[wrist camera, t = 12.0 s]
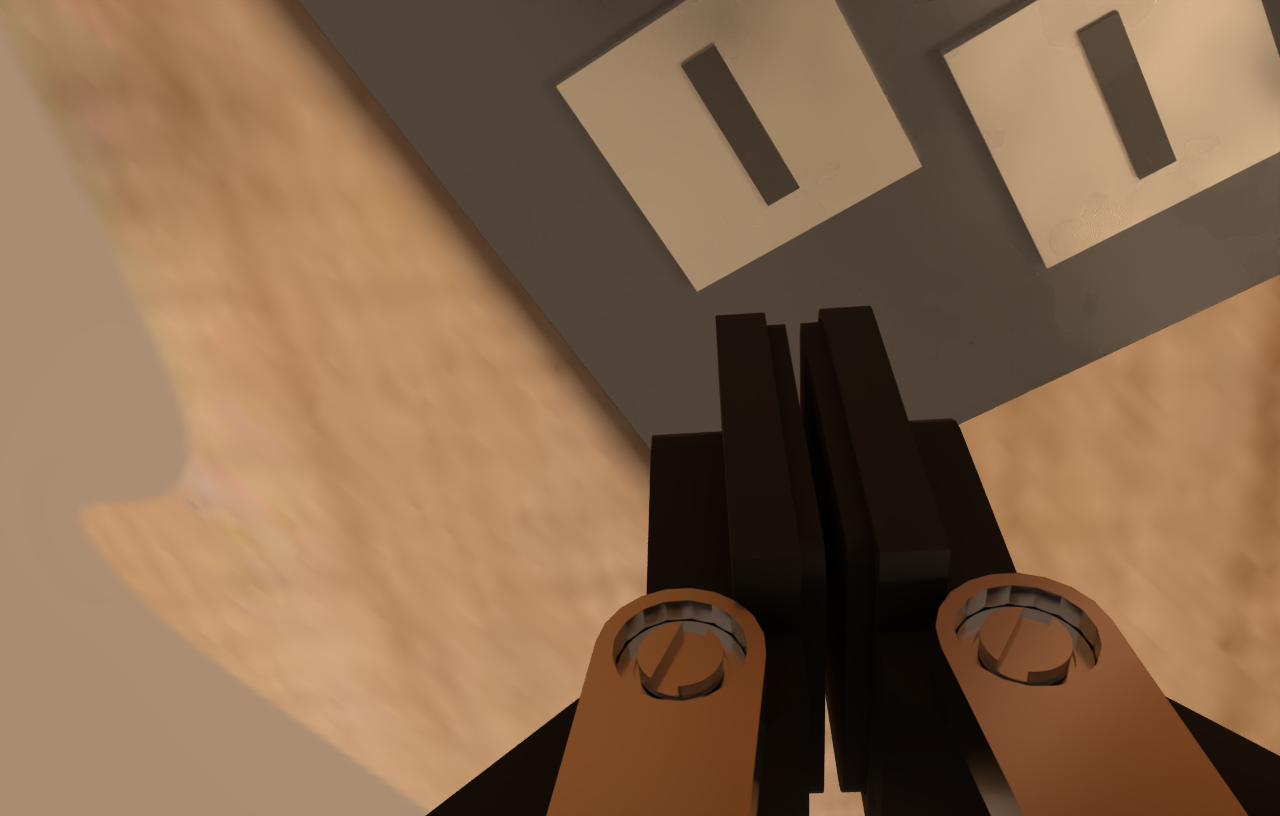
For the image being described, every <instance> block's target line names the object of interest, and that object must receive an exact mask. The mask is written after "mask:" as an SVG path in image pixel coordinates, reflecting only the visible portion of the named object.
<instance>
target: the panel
mask: <svg viewBox="0 0 1280 816" xmlns="http://www.w3.org/2000/svg"><path fill="white" fill-rule="evenodd" d="M298 1H299V3H300V4H301V5H302V6H303V8H304V9H305V10H306V12H307V13H308V14H309V15H310V17H311V18H312V19H313V20H314V22H315V23H316V24H317V26H318V27H319V28H320V29H321V31H322V32H323V33H324V34H325V36H326V37H327V38H328V40H329V41H330V42H331V43H332V45H333V46H334V47H335V48H336V50H337V51H338V52H339V54H340V55H341V56H342V57H343V59H344V60H345V61H346V62H347V64H348V65H349V66H350V68H351V69H352V70H353V71H354V73H355V74H356V75H357V77H358V78H359V79H360V80H361V82H362V83H363V84H364V85H365V87H366V88H367V89H368V91H369V92H370V93H371V94H372V96H373V97H374V98H375V99H376V101H377V102H378V103H379V105H380V106H381V107H382V108H383V110H384V111H385V112H386V113H387V115H388V116H389V117H390V119H391V120H392V121H393V122H394V124H395V125H396V126H397V128H398V129H399V130H400V131H401V133H402V134H403V135H404V136H405V138H406V139H407V140H408V142H409V143H410V144H411V145H412V147H413V148H414V149H415V150H416V152H417V153H418V154H419V156H420V157H421V158H422V159H423V161H424V162H425V163H426V164H427V166H428V167H429V168H430V170H431V171H432V172H433V173H434V175H435V176H436V177H437V179H438V180H439V181H440V182H441V184H442V185H443V186H444V187H445V189H446V190H447V191H448V193H449V194H450V195H451V196H452V198H453V199H454V200H455V201H456V203H457V204H458V205H459V207H460V208H461V209H462V210H463V212H464V213H465V214H466V215H467V217H468V218H469V219H470V221H471V222H472V223H473V224H474V226H475V227H476V228H477V230H478V231H479V232H480V233H481V235H482V236H483V237H484V238H485V240H486V241H487V242H488V244H489V245H490V246H491V247H492V249H493V250H494V251H495V252H496V254H497V255H498V256H499V258H500V259H501V260H502V261H503V263H504V264H505V265H506V266H507V268H508V269H509V270H510V272H511V273H512V274H513V275H514V277H515V278H516V279H517V281H518V282H519V283H520V284H521V286H522V287H523V288H524V289H525V291H526V292H527V293H528V295H529V296H530V297H531V298H532V300H533V301H534V302H535V303H536V305H537V306H538V307H539V309H540V310H541V311H542V312H543V314H544V315H545V316H546V317H547V319H548V320H549V321H550V323H551V324H552V325H553V326H554V328H555V329H556V330H557V332H558V333H559V334H560V335H561V337H562V338H563V339H564V340H565V342H566V343H567V344H568V346H569V347H570V348H571V349H572V351H573V352H574V353H575V354H576V356H577V357H578V358H579V360H580V361H581V362H582V363H583V365H584V366H585V367H586V368H587V370H588V371H589V372H590V374H591V375H592V376H593V377H594V379H595V380H596V381H597V382H598V384H599V385H600V386H601V388H602V389H603V390H604V391H605V393H606V394H607V395H608V397H609V398H610V399H611V400H612V402H613V403H614V404H615V405H616V407H617V408H618V409H619V411H620V412H621V413H622V414H623V416H624V417H625V418H626V419H627V421H628V422H629V423H630V425H631V426H632V427H633V428H634V430H635V431H636V432H637V433H638V435H639V436H640V437H641V439H642V440H643V441H644V442H645V444H646V445H647V446H648V448H649V449H650V450H651V440H652V435H663V434H681V433H699V432H716V431H722V430H721V412H720V394H719V376H718V357H717V339H716V321H715V315H730V314H745V313H761V312H764V313H765V317H766V323H767V325H778V324H785V326H786V331H787V336H788V342H789V347H790V353H791V359H792V364H793V370H794V376H795V381H796V387H797V392H798V398H799V404H800V324H801V323H809V322H818V312H819V309H823V308H839V307H855V306H871V307H872V309H873V312H874V315H875V318H876V321H877V324H878V328H879V331H880V334H881V337H882V340H883V343H884V346H885V349H886V352H887V355H888V358H889V361H890V364H891V368H892V371H893V374H894V377H895V380H896V383H897V386H898V389H899V392H900V395H901V398H902V401H903V404H904V408H905V411H906V414H907V417H908V420H909V421H911V420H929V419H946V418H952V419H954V420H956V422H957V424H958V425H959V424H961V423H963V422H965V421H967V420H969V419H972V418H974V417H976V416H978V415H980V414H982V413H984V412H986V411H989V410H991V409H993V408H995V407H997V406H999V405H1001V404H1004V403H1006V402H1008V401H1010V400H1012V399H1014V398H1016V397H1019V396H1021V395H1023V394H1025V393H1027V392H1029V391H1031V390H1033V389H1036V388H1038V387H1040V386H1042V385H1044V384H1046V383H1048V382H1051V381H1053V380H1055V379H1057V378H1059V377H1061V376H1063V375H1066V374H1068V373H1070V372H1072V371H1074V370H1076V369H1078V368H1081V367H1083V366H1085V365H1087V364H1089V363H1091V362H1093V361H1095V360H1098V359H1100V358H1102V357H1104V356H1106V355H1108V354H1110V353H1113V352H1115V351H1117V350H1119V349H1121V348H1123V347H1125V346H1128V345H1130V344H1132V343H1134V342H1136V341H1138V340H1140V339H1142V338H1145V337H1147V336H1149V335H1151V334H1153V333H1155V332H1157V331H1160V330H1162V329H1164V328H1166V327H1168V326H1170V325H1172V324H1175V323H1177V322H1179V321H1181V320H1183V319H1185V318H1187V317H1189V316H1192V315H1194V314H1196V313H1198V312H1200V311H1202V310H1204V309H1207V308H1209V307H1211V306H1213V305H1215V304H1217V303H1219V302H1222V301H1224V300H1226V299H1228V298H1230V297H1232V296H1234V295H1237V294H1239V293H1241V292H1243V291H1245V290H1247V289H1249V288H1251V287H1254V286H1256V285H1258V284H1260V283H1262V282H1264V281H1266V280H1269V279H1271V278H1273V277H1275V276H1277V275H1279V274H1280V0H298Z"/></svg>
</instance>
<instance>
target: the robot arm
mask: <svg viewBox="0 0 1280 816" xmlns="http://www.w3.org/2000/svg"><path fill="white" fill-rule="evenodd" d="M715 321H716V339H717V357H718V376H719V394H720V412H721V430H722V431H716V432H699V433H681V434H663V435H652V440H651V466H650V499H649V532H648V566H647V595H644V596H641V597H639V598H638V599H636V600H634V601H632V602H630V603H629V604H627V605H625V606H623V607H621V608H620V609H619V610H618V611H617V612H616V613H615V614H614V615H613V616H612V617H611V618H610V619H609V620H608V621H607V622H606V623H605V624H604V626H603V628H602V630H601V632H600V634H599V636H598V638H597V640H596V642H595V646H594V650H593V653H592V657H591V660H590V664H589V667H588V671H587V674H586V678H585V681H584V685H583V688H582V692H581V695H580V698H578V699H577V700H576V701H575V702H573V703H572V704H571V705H569V706H568V707H567V708H565V709H564V710H563V711H561V712H560V713H559V714H558V715H556V716H555V717H554V718H552V719H551V720H550V721H548V722H547V723H546V724H545V725H543V726H542V727H541V728H539V729H538V730H537V731H535V732H534V733H533V734H532V735H530V736H529V737H528V738H526V739H525V740H524V741H522V742H521V743H520V744H518V745H517V746H516V747H515V748H513V749H512V750H511V751H509V752H508V753H507V754H505V755H504V756H503V757H502V758H500V759H499V760H498V761H496V762H495V763H494V764H492V765H491V766H490V767H489V768H487V769H486V770H485V771H483V772H482V773H481V774H479V775H478V776H477V777H475V778H474V779H473V780H472V781H470V782H469V783H468V784H466V785H465V786H464V787H462V788H461V789H460V790H459V791H457V792H456V793H455V794H453V795H452V796H451V797H449V798H448V799H447V800H446V801H444V802H443V803H442V804H440V805H439V806H438V807H436V808H435V809H434V810H432V811H431V812H430V813H429V814H427V815H426V816H809V793H823V792H824V755H825V695H826V702H827V708H828V715H829V721H830V728H831V734H832V741H833V748H834V754H835V761H836V767H837V774H838V780H839V786H840V790H841V792H861V795H862V801H863V807H864V813H865V816H1280V756H1279V755H1277V754H1275V753H1273V752H1271V751H1269V750H1267V749H1265V748H1263V747H1261V746H1259V745H1257V744H1256V743H1254V742H1252V741H1250V740H1248V739H1246V738H1244V737H1242V736H1240V735H1238V734H1236V733H1235V732H1233V731H1231V730H1229V729H1227V728H1225V727H1223V726H1221V725H1219V724H1217V723H1215V722H1213V721H1212V720H1210V719H1208V718H1206V717H1204V716H1202V715H1200V714H1198V713H1196V712H1194V711H1192V710H1190V709H1189V708H1187V707H1185V706H1183V705H1181V704H1179V703H1177V702H1175V701H1173V700H1171V699H1169V698H1168V697H1166V696H1165V695H1164V694H1163V692H1162V691H1161V690H1160V688H1159V687H1158V685H1157V684H1156V682H1155V681H1154V679H1153V678H1152V677H1151V675H1150V674H1149V672H1148V671H1147V669H1146V668H1145V667H1144V665H1143V664H1142V662H1141V661H1140V659H1139V658H1138V657H1137V655H1136V654H1135V652H1134V651H1133V649H1132V648H1131V646H1130V645H1129V644H1128V642H1127V641H1126V639H1125V638H1124V636H1123V635H1122V634H1121V632H1120V631H1119V629H1118V628H1117V626H1116V625H1115V623H1114V622H1113V621H1112V619H1111V618H1110V617H1109V616H1108V615H1107V614H1106V613H1105V612H1104V611H1103V610H1102V609H1101V608H1100V607H1099V606H1098V605H1097V603H1096V602H1094V601H1093V600H1091V599H1090V598H1088V597H1087V596H1085V595H1083V594H1082V593H1080V592H1079V591H1077V590H1076V589H1074V588H1072V587H1070V586H1067V585H1064V584H1062V583H1059V582H1056V581H1054V580H1051V579H1048V578H1045V577H1039V576H1033V575H1027V574H1021V573H1017V572H1016V570H1015V567H1014V565H1013V562H1012V559H1011V557H1010V554H1009V552H1008V549H1007V547H1006V544H1005V542H1004V539H1003V536H1002V534H1001V531H1000V529H999V526H998V524H997V521H996V519H995V516H994V513H993V511H992V508H991V506H990V503H989V501H988V498H987V496H986V493H985V491H984V488H983V485H982V483H981V480H980V478H979V475H978V473H977V470H976V468H975V465H974V462H973V460H972V457H971V455H970V452H969V450H968V447H967V445H966V442H965V439H964V437H963V434H962V432H961V429H960V427H959V425H958V424H957V422H956V420H954V419H952V418H946V419H929V420H911V421H909V420H908V417H907V414H906V411H905V408H904V404H903V401H902V398H901V395H900V392H899V389H898V386H897V383H896V380H895V377H894V374H893V371H892V368H891V364H890V361H889V358H888V355H887V352H886V349H885V346H884V343H883V340H882V337H881V334H880V331H879V328H878V324H877V321H876V318H875V315H874V312H873V309H872V307H871V306H855V307H839V308H823V309H819V312H818V322H809V323H801V324H800V404H799V398H798V392H797V387H796V381H795V376H794V370H793V364H792V359H791V353H790V347H789V342H788V336H787V331H786V326H785V324H778V325H767V323H766V317H765V313H764V312H761V313H745V314H730V315H715Z"/></svg>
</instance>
